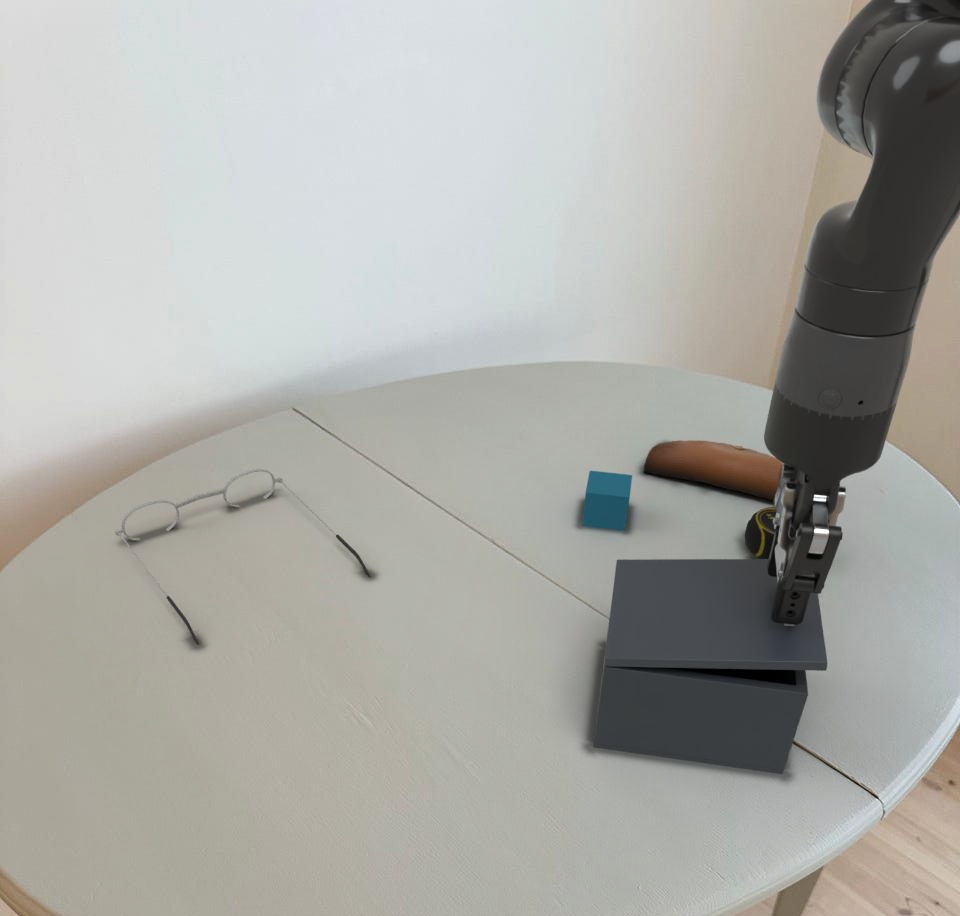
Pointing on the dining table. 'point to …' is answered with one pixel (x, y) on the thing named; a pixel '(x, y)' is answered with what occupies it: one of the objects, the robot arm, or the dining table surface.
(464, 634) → the dining table surface
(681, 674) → the open box
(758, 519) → the tape measure
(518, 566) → the dining table surface
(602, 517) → the blue block
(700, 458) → the sunglasses case
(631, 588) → the lid
